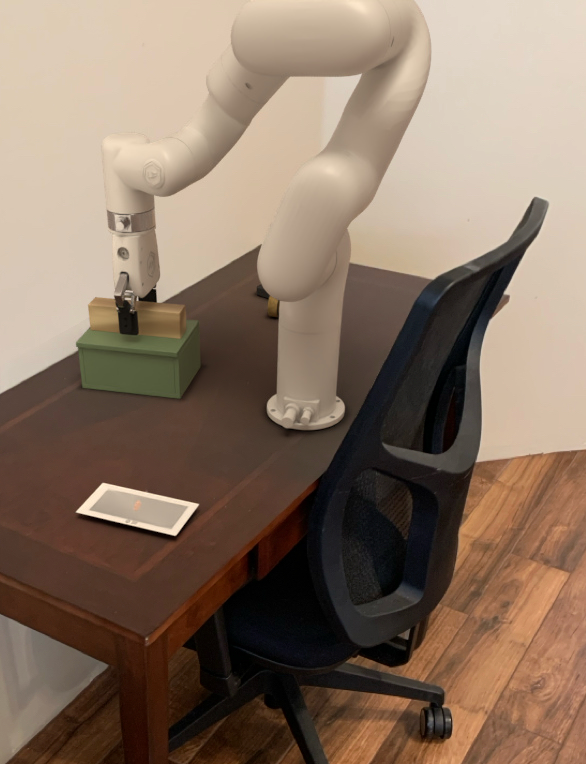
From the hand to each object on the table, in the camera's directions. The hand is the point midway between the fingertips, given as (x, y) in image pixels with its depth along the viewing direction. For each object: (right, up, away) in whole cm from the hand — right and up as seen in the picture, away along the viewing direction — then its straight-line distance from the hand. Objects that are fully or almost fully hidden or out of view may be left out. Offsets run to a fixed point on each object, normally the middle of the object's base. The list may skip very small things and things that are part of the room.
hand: (139, 322), depth 151 cm
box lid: (0, -2, +1) cm, 2 cm away
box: (0, -8, +6) cm, 10 cm away
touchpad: (+2, -33, -28) cm, 43 cm away
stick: (0, -1, +1) cm, 1 cm away
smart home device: (+31, +18, +38) cm, 52 cm away
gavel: (+32, +11, +31) cm, 46 cm away
